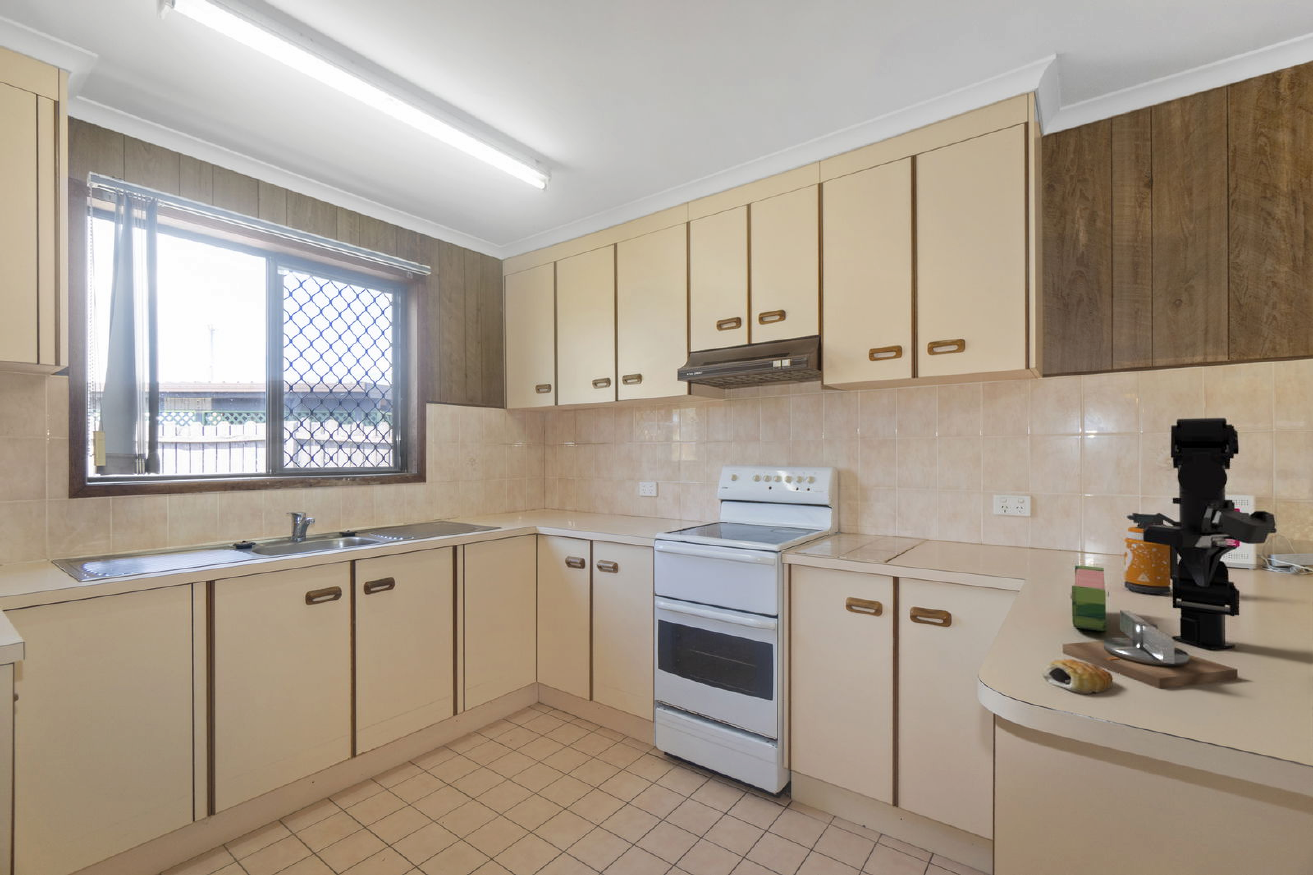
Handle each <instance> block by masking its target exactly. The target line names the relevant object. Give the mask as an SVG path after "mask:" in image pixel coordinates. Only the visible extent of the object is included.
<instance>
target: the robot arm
mask: <svg viewBox="0 0 1313 875" xmlns="http://www.w3.org/2000/svg"><path fill="white" fill-rule="evenodd" d="M1238 436H1239V434H1238V430H1236V429H1235V426H1234V425H1233V424H1228V422H1227V418H1225V417H1208V418H1207V417H1205V418H1204V417H1200V418H1177V419H1176V424H1175V425H1174V424H1173V425H1171V426H1170V458H1172V468H1173V469H1177V481H1178V493H1179V494H1178V497H1172V504H1173V505H1174V504H1175V505H1179V508H1178V509H1179V512H1178V513H1179V521H1175V522H1173V525H1167V524H1165V525H1150V526H1147V527H1146V528H1145V529H1144V530H1143V541H1144V542H1149V543H1156V544H1163V545H1169V546H1173V548H1174V549H1175V550H1176V552H1177V553H1178V557H1180V559H1179V561H1178V564H1177V576H1174V575H1172V580H1171V582H1172V583H1171V584H1172V586H1171V587H1172V588H1171V591H1172V592H1171V593H1172V609H1179V610H1180V616H1179V617H1180V618H1179V625H1180V626H1179V627H1180V628H1179V635H1171V639H1172V640H1174V641H1178V642H1182V643H1185V644H1189V645H1193V646H1195V647H1198V648H1203V649H1206V650H1209V651H1210V650H1221V649H1230V648H1236V644H1234V643H1231V642H1228V641H1226V616H1230V617H1235V616H1240V590H1239V589H1238V588H1237V587H1236V585H1235V582H1234V581H1229V569H1228V566H1227V564H1226V563H1225V562H1224V561H1222V560H1221V559H1222V557H1224V555H1226V554H1227V553H1229V552H1230V551H1233V550H1236V549H1238V546H1235V545H1230V544H1228V543H1229V541H1228V540H1233V541H1237V542H1239V543H1243V544H1250V545H1254V544H1265V543H1266V540H1267V539H1268V536H1269V535H1270V534H1275V533H1277V528H1276V525H1277V524H1276V521H1275V515H1274V513H1270V512H1268V511H1265V510H1255V511H1254V512H1252V513H1251V514H1250V513H1249V512H1242V511H1238V510H1236V509H1235V502H1233V499H1226V485H1227V482H1228V474H1227V472H1226V470H1230V469H1231V459H1234V456H1235V455H1239V451H1240V449H1239V437H1238Z"/></svg>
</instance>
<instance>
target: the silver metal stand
mask: <svg viewBox="0 0 1313 875" xmlns="http://www.w3.org/2000/svg"><path fill="white" fill-rule="evenodd" d="M1119 630H1120V631H1121V632H1123V633H1124V634H1125V635H1127V637H1110V638H1105V639H1104V649H1105V650H1106V651H1107V652H1109V653H1111V654H1113V655H1115V656H1118V657H1121V658H1124V659H1128V660H1132V661H1136V662H1141V663H1146V664H1152V665H1160V666H1184V665H1187V664H1189V655H1190V654H1189V653H1188V652H1187V651H1185V650H1183V649H1180V648H1178V647H1175V640H1174V639H1172V637H1170V636H1168V635H1167V634H1165V633H1163V632H1162V631H1161V630H1159V629H1158V625H1157V624H1155V623H1152V622H1147V621H1145V620H1144V619H1142V617H1139V616H1138V615H1137V614H1135V613H1133V612H1132V611H1130V610H1124V609H1120V610H1119Z"/></svg>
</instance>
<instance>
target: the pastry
mask: <svg viewBox="0 0 1313 875" xmlns="http://www.w3.org/2000/svg"><path fill="white" fill-rule="evenodd" d="M1042 677H1043V678H1044V680H1045V682H1047V683H1048V684H1050V685H1052V686H1056V687H1058V688H1060V689H1065V690H1067V691H1069V692H1073V693H1078V694H1088V695H1089V694H1091V693H1093V692H1095V693H1101V692H1104V691H1106V690H1107V691H1108V689H1110V688H1112V685H1113V680H1114V679H1113V676H1112V673H1111V672H1110V671H1107V670H1105V668H1102V667H1100V666H1097V665H1095V664H1092V663H1089V662H1086V661H1081V660H1080V661H1078V660H1075V659H1070V658H1069V659H1066V658H1065V659H1062V660H1060V659H1057V660H1056V659H1055V660H1053V661H1051V662H1050V663H1048V665H1047V666H1046V667H1045V669H1044V670H1043V671H1042Z"/></svg>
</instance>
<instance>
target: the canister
mask: <svg viewBox="0 0 1313 875" xmlns="http://www.w3.org/2000/svg"><path fill="white" fill-rule="evenodd" d="M1126 519H1128V520H1130V521H1133V523H1134V524H1137V525H1136V526H1130V527H1128V528H1127V530H1126V538H1125V539H1123V543H1124V544H1123V551H1124V552H1123V556H1124V557H1123V558H1124V560H1123V561H1124V564H1123V565H1124V566H1123V567H1124V569H1123V570H1124V576H1123V577H1124V588H1125V589H1129V590H1130V591H1132V592H1135V593H1138V594H1145V595H1150V596H1151V595H1153V596H1161V595H1164V594H1169V593H1171V581H1172V575H1174V576H1177V564H1178V563H1179V561H1178V559H1179V558H1178V557H1179V555H1178V553H1177V552H1176V550H1175V549H1174V548H1173V546H1169V545H1163V544H1156V543H1149V542H1144V541H1143V530H1144V529H1145V528H1146V527H1147V526H1150V525H1166V524H1164V522H1166V523H1167V524H1170V526H1173V522H1176V520H1174V519H1171V518H1169V517H1168V516H1167V515H1164V514H1162V513H1160V512H1158V513H1156V514H1152V513H1151V514H1150V513H1149V514H1148V513H1147V514H1146V513H1138V512H1133V513H1132V515H1131V514H1128V515H1126Z"/></svg>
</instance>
